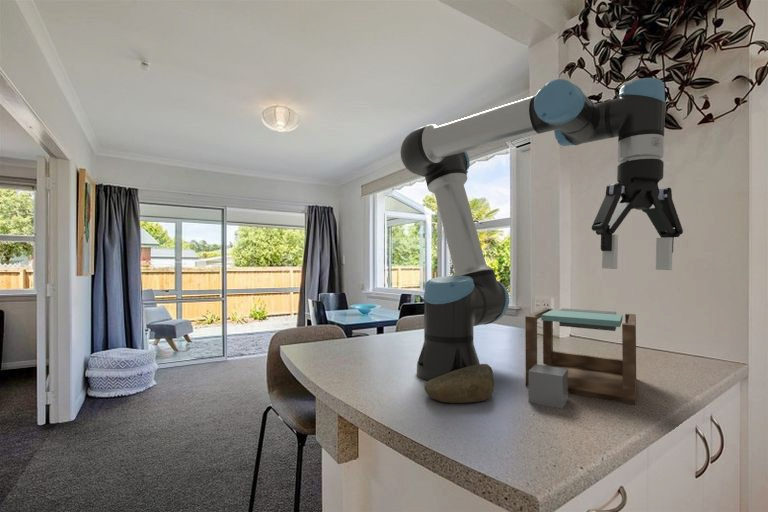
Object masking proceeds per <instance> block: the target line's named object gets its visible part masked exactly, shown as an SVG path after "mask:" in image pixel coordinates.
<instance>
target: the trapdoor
mask: <svg viewBox="0 0 768 512" xmlns="http://www.w3.org/2000/svg"><path fill="white" fill-rule="evenodd" d="M540 319H541V321H542V322H543V321H553V322H556V323H557V322H558V323H559V327H567V328H577V329H589V330H599V331H601V330H602V331H609V332H610V331H611V332H615V331H616V329H617V328H621V327H622V324H623V314H620V313H619V314H618V313H617V311H607V310H594V309H580V308H579V309H578V308H565V307H564V308H561V309H559V310H557V309H553V310H551V311H549V312H547V313H545V314H543V315H541V318H540Z"/></svg>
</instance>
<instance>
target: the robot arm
mask: <svg viewBox="0 0 768 512" xmlns="http://www.w3.org/2000/svg"><path fill="white" fill-rule="evenodd" d="M665 92H666V91H665V83H664V81H662V80H661V79H660V78H656V77H643V78H638V79H634V80H631V81H630V82H629V83H626V84H623V86H621V88H620V89H619V94H618V96H617V98H614V99H610V100H607V101H603V102H598V103H594V102H593V101H592V100H591V99H590V98H589V97H588V96H587V95H586V94H585V93H584V92H583V90H582V89H581V88H580V87H579V86H578V85H576V84H575V83H573V82H571V81H569V79H564V78H557V79H553V80H549V81H548V82H546V84H544V85H543V86H542V87H541V88H540V89H539V90H538V91H537V93H536V94H535V95H532V96H530V97H529V96H528V97H526V98H524V99H523V98H522V99H520V100H518V101H514V102H511V103H507V104H504V105H501V106H498V107H494V108H492V109H488V110H485V111H482V112H479V113H475V114H472V115H469V116H467V117H464V118H461V119H457V120H454V121H451V122H448V123H444V124H441V125H436V124H433V123H430V124H427V125H425V126H421V127H418V128H416V129H415V130H412V131H411V132H409V134H407V136H406V137H405V138H404V140H403V141H402V143H401V146H400V160H401V162H402V164H403V166H404V167H405V168H406V170H407V171H409V172H410V173H412V174H414V175H417V176H421V177H424V178H425V183H426V186H427V190H428V192H430V193H432V194H434V197H435V201H436V203H437V204H436V205H437V209H438V212H439V216H440V220H441V224H442V227H443V231H444V235H445V240H446V243H447V247H448V252H449V255H450V259H451V261H452V265H453V270H454V274H453V275H447V276H440V277H437V276H436V277H434V278H433V277H432V278H430V279H428V280H427V281H426V282H425V285H424V294H423V304H424V305H423V310H424V311H423V315H424V316H423V319H424V321H423V324H424V325H423V330H424V331H423V332H424V334H423V335H424V336H423V337H424V338H423V344H422V347H421V351H420V353H419V357H418V359H417V363H416V375H417V376H418V377H419V378H421V379H422V380H426V381H427V382H428V381H429V380H431V379H433V378H436V377H438V376H441V375H444V374H446V373H449V372H452V371H455V370H458V369H461V368H465V367H469V366H473V365H478V364H481V363H480V360H479V356H478V353H477V350H476V347H475V344H474V343H475V342H474V327H477V326H483V325H485V326H486V325H491V324H493V323H494V322H497V321H498V320H499V321H500V320H501V319H502V318H503V317H504V316H505V314H506V313H507V311H508V310H509V305H510V295H509V292H508V289H507V288H506V286H505V285H504V284H503V283H502V282H500V280H499V281H498V279H497V276H496V272H495V270H494V268H492V267H491V266H489V265H487V263H486V259H485V256H484V252H483V249H482V245H481V242H480V238H479V234H478V231H477V227H476V224H475V220H474V216H473V214H472V210H471V207H470V201H469V199H468V195H467V192H466V187H465V184H466V183H467V181H468V172H469V171H468V170H469V169H470V163H471V162H470V157H469V154H468V152H469V151H473V150H478V149H483V148H486V147H491V146H496V145H498V144H502V143H506V142H510V141H514V140H518V139H522V138H526V137H531V136H535V135H540V134H544V133H547V132H548V133H549V132H553V133H554V137H555V140H556V141H557V144H559V145H560V146H562V147H568V146H579V145H581V144H587V143H592V142H593V143H594V142H596V141H601V140H606V139H613V138H617V137H618V138H617V143H618V144H617V163H619V164H618V165H617V171H616V172H617V176H616V181H617V182H615V183H611V184H607V185H606V188H605V195H604V198H603V200H602V203H601V205H600V207H599V210H598V212H597V214H596V216H595V217H594V221H593V223H592V225H591V230H592V231H593V232H595V234H596V235H597V236H600V250H601V252H602V255H601V256H602V259H601V261H602V263H601V265H602V266H601V269H609V270H618V251H619V248H618V247H619V235H618V234H614V233H615V232H616V231H617V230H618V228H619V227H620V226H621V224H622V223H623V221H624V220H625V219H626V217H627V215H628V214H629V213H630V212H631V210H638V211H642V212H643V213H644V214H646V215H647V217H648V219H649V220H650V222H651V223H652V225H653V226H654V229H655V230H656V232H657V234H658V235H659V236H660V237H656V242H655V243H656V246H655V247H656V248H655V270H657V271H659V270H660V271H672V270H673V252H674V240H675V239H674V238H679V237H680V236H681V235H682V234H683V233H684V230H683V226H682V224H681V221H680V219H679V215H678V213H677V209H676V206H675V203H674V201H673V194H672V192H673V191H672V188H671V187H665V188H659V182H660V181H662V180H663V178H664V166H665V165H664V163H665V162H664V161H663V158H664V155H665V154H664V152H665V151H664V150H665V149H664V147H665V145H664V144H665V142H664V141H665V122H666V121H665V118H666V117H665V116H666V106H667V102H666V93H665Z"/></svg>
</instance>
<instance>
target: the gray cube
mask: <svg viewBox="0 0 768 512" xmlns="http://www.w3.org/2000/svg"><path fill="white" fill-rule="evenodd" d="M568 399H569V393H568V369H565V368H558V367H551V366H544V365H542V364H538V363H537V364H535V365H534V366H533V367H532V368H531V369H530V370H529V386H528V403H533V404H538V405H542V406H547V407H552V408H558V409H562V410H563V409H564V407H565V406H566V403H567V402H568Z"/></svg>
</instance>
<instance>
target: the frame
mask: <svg viewBox="0 0 768 512" xmlns="http://www.w3.org/2000/svg"><path fill="white" fill-rule="evenodd" d="M551 310H554V309H553V308H549V307H548V308H547V307H544V308H542V309H540V310H537V311H535V312H533V313H530V314H528V315H526V316H525V325H524V326H525V328H524V331H525V385H526V386H528V387H529V370H530V369H531V368H532V367H533V366H534V365H535V364H538V320H539V319H541V315H543V314H545V313H547V312H549V311H551ZM624 316H625V317H624V318H625V319H624V321H625V322H624V323H623V322H622V323H621V327H622V328H621V329H622V331H621V332H622V333H621V334H622V336H621V337H622V339H621V340H622V341H621V342H622V343H621V344H622V346H621V347H622V351H621V352H622V359H621V358H620V359H619V358H614V357H613V358H611V357H605V356H604V357H603V356H597V355H596V356H595V355H589V354H580V353H573V352H566V351H556V350H554V321H543V320H542V363H541V365H544V366H551V367H558V368H565V369H568V394H573V395H578V396H583V397H584V396H585V397H591V398H596V399H600V400H601V399H602V400H604V401H605V400H606V401H610V402H611V401H612V402H616V403H617V402H618V403H623V404H628V405H634V406H636V403H637V402H636V400H637V399H636V397H637V396H636V395H637V394H636V393H637V332H636V331H637V319H636V317H637V315H636V313H625V315H624Z"/></svg>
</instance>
